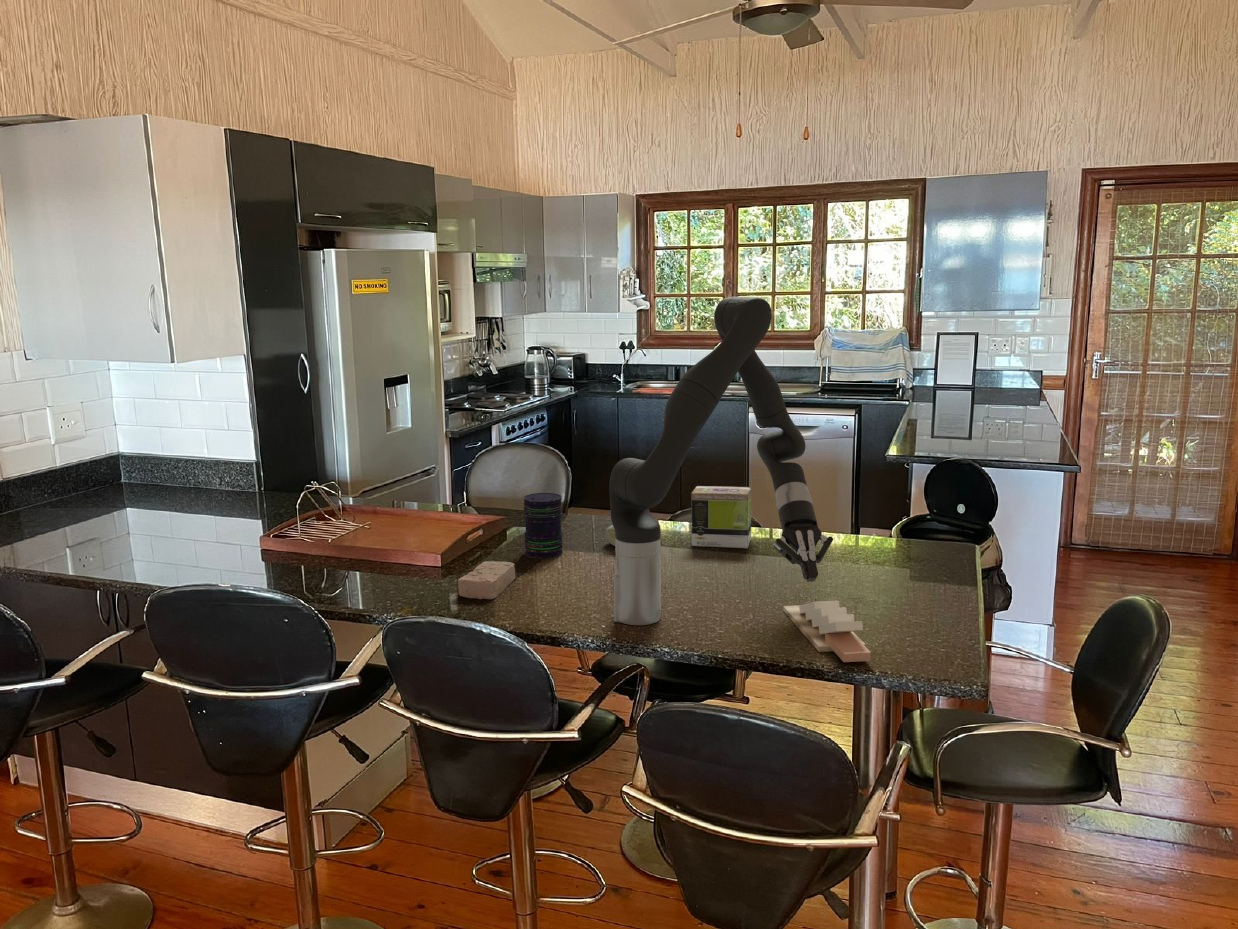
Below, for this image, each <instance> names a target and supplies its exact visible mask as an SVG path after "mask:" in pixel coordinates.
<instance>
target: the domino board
mask: <svg viewBox="0 0 1238 929" xmlns="http://www.w3.org/2000/svg"><path fill="white" fill-rule="evenodd" d="M801 605H802V604H800V605H799V604H798V605H794V604H793V605H783V606H782V611H783V612H784V613H785V615H786V616H789V617H788V618H789V619H790V620H791V621H792V622H793V624H794V625H795V626H796V627H797V628H798V630H799V631H800V632H801V633H802V634H803V635H804V636H805V638H806V639H807V640H808V641H809V642H810V643H811V644H812V646H813V647H814V648H815V649H816V650H817V651H818V652H819V653H823V652H825V653H826V652H834V651H833V650H832V649H831V647H830V646H829V645H828V644H827V643H826V642H825V634H819V627H812V620H808V621H806V614H800V610H799V606H801ZM851 633H852V634H853V635H854V636H855V637H856V638H857V639H858V640H859V641H860V642H861V643H862V644H863V645H864V646H865V647H866V645H867V644H866V643H865V642H864V641H863V640H862V639H861V638H860V637H859V635H857V634H856V633H855V631H853V632H851ZM866 648H867V647H866Z"/></svg>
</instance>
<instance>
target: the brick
mask: <svg viewBox="0 0 1238 929" xmlns="http://www.w3.org/2000/svg"><path fill="white" fill-rule="evenodd" d="M515 579H516V566H515V563H513V562H509V561H488V560H487V561H483V562H482V563H480V564H478V565H477V566H476V567H474V569H473V571H469V572H468V573H467V574H465V575H462V577H460V578H459V579H458V580H457V589H458V595H459V596H460V597H463V598H467V599H478V600H494V599H495V598H497V597H498V596H499V595H501V594H502V593H503V591H505V589H506V588H508V586H509V585H510V584H512V582H514V580H515Z"/></svg>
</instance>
